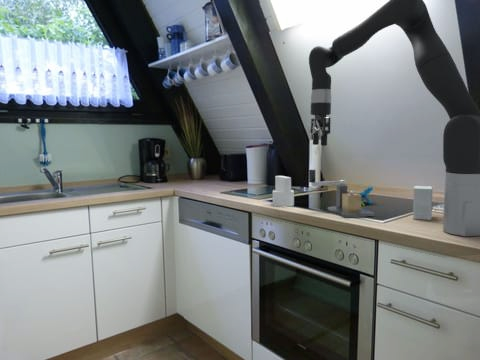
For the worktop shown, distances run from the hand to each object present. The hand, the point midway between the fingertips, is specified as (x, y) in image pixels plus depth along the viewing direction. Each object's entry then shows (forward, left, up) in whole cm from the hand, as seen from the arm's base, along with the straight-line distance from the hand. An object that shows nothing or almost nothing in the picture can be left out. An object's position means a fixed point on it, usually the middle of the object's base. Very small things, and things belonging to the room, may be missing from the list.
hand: (319, 145), depth 137 cm
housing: (-11, -8, -24) cm, 27 cm away
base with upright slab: (+13, +11, -25) cm, 31 cm away
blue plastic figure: (+7, -22, -26) cm, 34 cm away
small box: (-23, -28, -25) cm, 44 cm away
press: (-10, -8, -25) cm, 28 cm away
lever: (-3, -2, -15) cm, 16 cm away
